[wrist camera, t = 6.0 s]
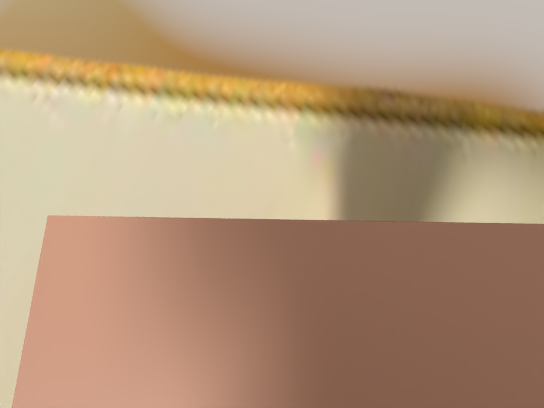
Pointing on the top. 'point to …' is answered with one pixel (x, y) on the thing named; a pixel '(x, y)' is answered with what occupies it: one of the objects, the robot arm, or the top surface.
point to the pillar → (284, 314)
